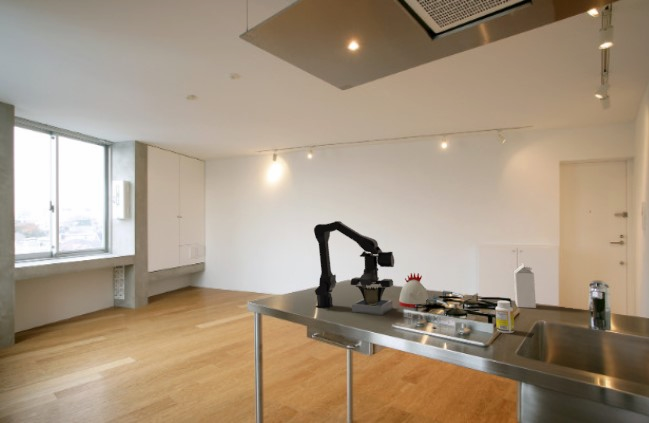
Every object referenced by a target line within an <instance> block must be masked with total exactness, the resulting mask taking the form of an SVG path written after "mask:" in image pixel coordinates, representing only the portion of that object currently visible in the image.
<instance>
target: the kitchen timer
mask: <svg viewBox="0 0 649 423" xmlns="http://www.w3.org/2000/svg"><path fill="white" fill-rule="evenodd" d="M422 278H423V276H422V275H420V273H417V275H416V273H415V272H413V274H412V272H411V273H410V275H407V278H406V277H404V280H405V283H404V285H403V286H402V288H401V290H400V293H399V302H398V305H399V306H401V307H405V308H414V307H415V305H417V304H425V303H426V300H427V299H429V300H430V298H429V295H428V291H427V288H426V287H425V286H424V285H423V284H422V283H421V280H422ZM407 279H408V280H407ZM414 309H415V308H414Z"/></svg>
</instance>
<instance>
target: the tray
mask: <svg viewBox="0 0 649 423" xmlns="http://www.w3.org/2000/svg"><path fill="white" fill-rule="evenodd" d="M368 303H369V302H367V301H364V298H362V299H359V300H358V301H355V302H354V303H352V304H351V312H352V313H357V314H365V315H366V314H368V315H377V316H378V315H379V316H384V314H386V313H388V312H389V311H390V310H392V309H393V306H394V305H393V300H392V299H382V298H381V301H380V302H379V301H378V302H376V306H372V305H368Z"/></svg>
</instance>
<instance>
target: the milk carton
mask: <svg viewBox="0 0 649 423" xmlns="http://www.w3.org/2000/svg"><path fill="white" fill-rule="evenodd" d="M513 284H514V297H515V298H514V300H515V301H514V302H515V305H516V307H517V308H527V309H529V308H530V309H537V303H536V302H537V300H536V286H535V285H536V284H535V274H534V272H532V267H530V266H529V265H527V266H525V263H523V262H521V265H520V266H519V267H517V268H516V269H515V270H514V271H513Z"/></svg>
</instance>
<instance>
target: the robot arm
mask: <svg viewBox="0 0 649 423" xmlns="http://www.w3.org/2000/svg"><path fill="white" fill-rule="evenodd" d="M335 231H337V232H339V233H341V235H343V236H345V237H347V238H349V239H350V240H352V241H354V242H355V243H357V245H358V246H359V248H360V249H362V250H363V251H362V253H361V254H360V255H359V257H360V258H361V257H362V258H364V269H363V273H362V274H361V276H360V277H358V276H357V277H356V276H355V277H352V278H351V280H350V286H355V287H356V288H358V290H359V291H360V292H361V295H362V297H363V298H362V299H364V301H366V299H365V295H364V288H366V287H371V286H372V285H378V287H377V288H378V301H379V302H380V301H381V299H382V297H383V294H384V292H385V290H386V289H387V288H391V287H393V286H394V281H393V279H392V278H383V279H380V278H379V277H378V276H379V274H378V272H379V268H378V266H379V267H380V268H394V267H395V257H394V254H393V251H383V250H382V249H381V248H380V247H379V243H378V240H376V239H374V238H372V237H369V236H366V235H363V234H361V233H359V232H358V231H356V230H354V229H353V228H351V227H350V226H348V225H346V224H344V223H343V222H342V221H339V220H338V221H337V220H335V221H333V222H331V223H330V222H329V223H318V224H316V225H315V226H314V227H313V233H314V238H315V240H316V241H317V242H318V250H319V253H318V254H319V260H320V271H321V272H320V273H321V274H320V277H319V281H318V282H319V283H318V287H317V288H316V289H315V290H314V293H315V295H316V305H315V308H319V309H322V308H323V309H329V308H331V307H334V304H333V297H332V292H333V289H335V287H336V284H337V279H336V278H337V275H336V274H333V272H332V267H331V258H330V249H329V248H330V246H329V240H330V236H331V233H332V232H335Z"/></svg>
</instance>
